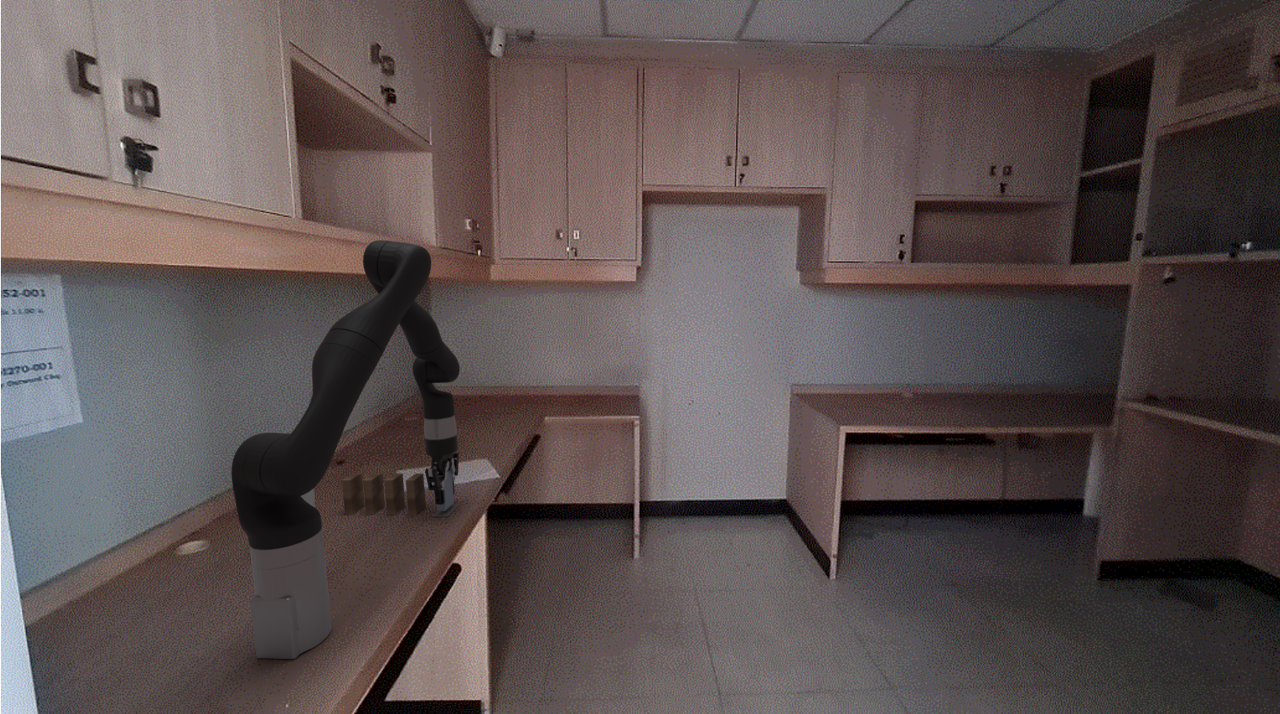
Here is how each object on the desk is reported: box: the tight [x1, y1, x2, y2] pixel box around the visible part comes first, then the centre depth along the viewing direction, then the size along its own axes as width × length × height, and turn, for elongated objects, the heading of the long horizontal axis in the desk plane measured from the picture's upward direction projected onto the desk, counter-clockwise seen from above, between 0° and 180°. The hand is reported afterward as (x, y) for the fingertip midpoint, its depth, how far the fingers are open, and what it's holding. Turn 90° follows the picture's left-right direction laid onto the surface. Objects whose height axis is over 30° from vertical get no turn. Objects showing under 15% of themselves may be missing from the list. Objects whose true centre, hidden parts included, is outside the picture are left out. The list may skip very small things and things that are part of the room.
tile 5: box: [341, 472, 365, 516], centre depth 128 cm, size 5×2×9 cm, turn 176°
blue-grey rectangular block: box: [436, 469, 455, 512], centre depth 126 cm, size 5×2×9 cm, turn 176°
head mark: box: [431, 504, 460, 518], centre depth 127 cm, size 7×4×1 cm, turn 176°
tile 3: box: [383, 472, 406, 516], centre depth 127 cm, size 5×2×9 cm, turn 176°
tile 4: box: [362, 472, 386, 516], centre depth 127 cm, size 5×2×9 cm, turn 176°
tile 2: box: [405, 472, 427, 516], centre depth 126 cm, size 5×2×9 cm, turn 176°
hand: (445, 499), depth 126 cm, fingers closed on blue-grey rectangular block, 5 cm apart
